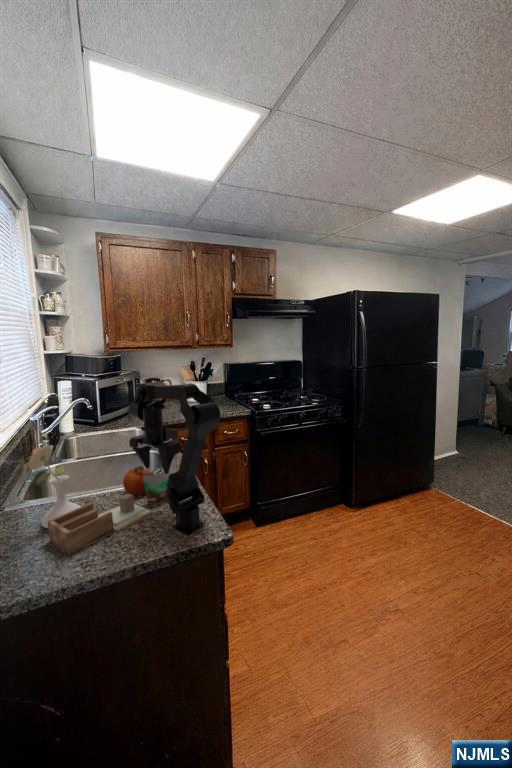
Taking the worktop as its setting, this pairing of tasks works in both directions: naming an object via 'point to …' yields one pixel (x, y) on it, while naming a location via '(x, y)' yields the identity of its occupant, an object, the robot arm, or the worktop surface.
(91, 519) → the box
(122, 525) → the mat
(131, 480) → the fruit
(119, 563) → the worktop surface
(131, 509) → the lid
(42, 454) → the flower in vase
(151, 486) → the food container
